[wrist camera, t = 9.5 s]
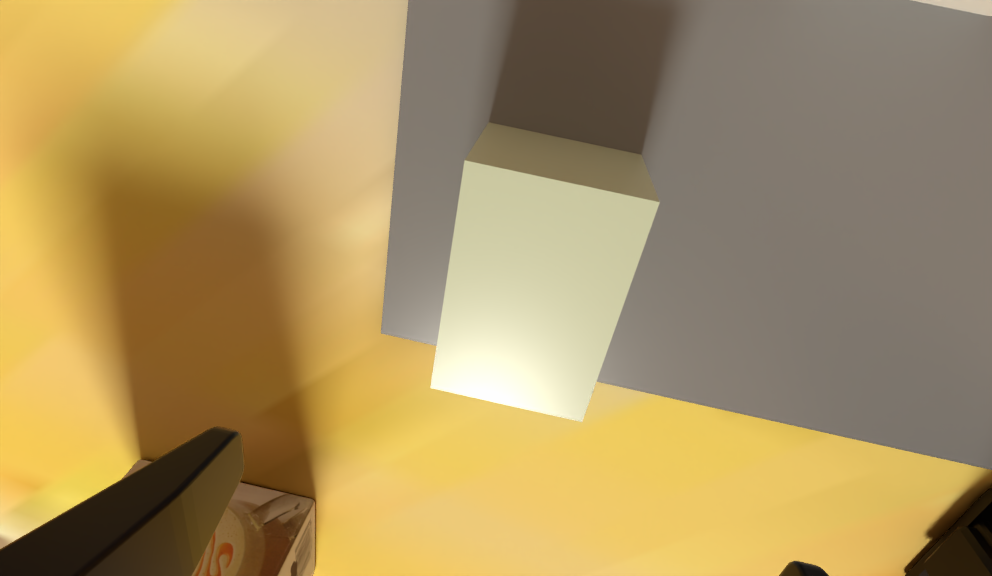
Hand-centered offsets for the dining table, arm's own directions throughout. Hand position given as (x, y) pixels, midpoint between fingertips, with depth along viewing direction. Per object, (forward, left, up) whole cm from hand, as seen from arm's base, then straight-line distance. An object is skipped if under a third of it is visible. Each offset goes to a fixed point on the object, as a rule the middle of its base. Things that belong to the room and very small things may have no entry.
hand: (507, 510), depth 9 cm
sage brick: (0, 0, -10) cm, 10 cm away
